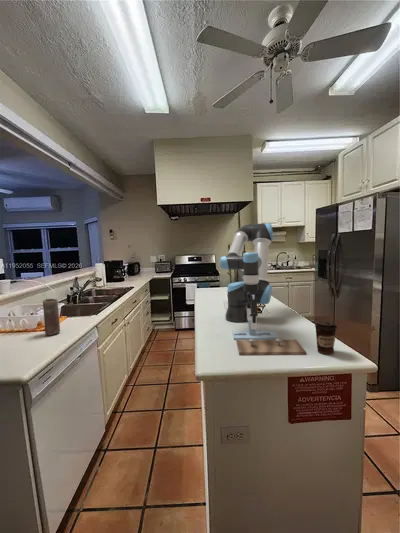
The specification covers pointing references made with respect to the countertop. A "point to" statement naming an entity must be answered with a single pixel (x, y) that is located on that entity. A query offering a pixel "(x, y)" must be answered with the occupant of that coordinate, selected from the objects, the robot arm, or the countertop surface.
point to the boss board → (269, 347)
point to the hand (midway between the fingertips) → (251, 324)
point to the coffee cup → (325, 336)
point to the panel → (257, 337)
